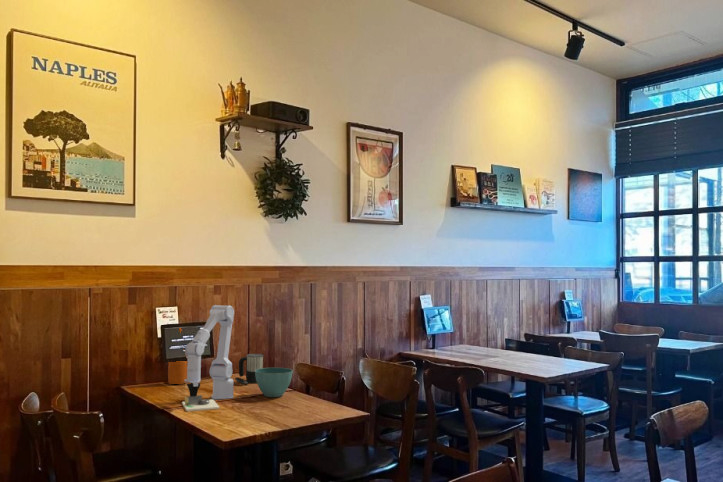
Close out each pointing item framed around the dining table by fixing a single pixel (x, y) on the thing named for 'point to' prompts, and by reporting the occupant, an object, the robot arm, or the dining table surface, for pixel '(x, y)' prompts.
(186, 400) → the tuner dial
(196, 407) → the tuner plate
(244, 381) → the milk frother
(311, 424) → the dining table surface
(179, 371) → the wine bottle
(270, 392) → the plant pot
